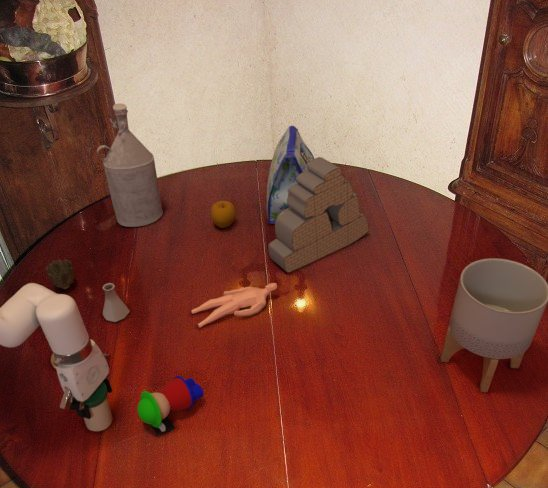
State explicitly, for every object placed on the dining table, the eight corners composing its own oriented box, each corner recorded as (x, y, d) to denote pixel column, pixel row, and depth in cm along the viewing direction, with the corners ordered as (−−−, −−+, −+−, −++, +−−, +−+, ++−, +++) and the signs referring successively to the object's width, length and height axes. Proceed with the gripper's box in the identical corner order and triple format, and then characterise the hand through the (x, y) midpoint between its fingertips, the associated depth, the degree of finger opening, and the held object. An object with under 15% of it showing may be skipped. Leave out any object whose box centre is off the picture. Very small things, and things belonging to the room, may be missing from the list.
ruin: (347, 219, 189) (346, 138, 168) (368, 233, 183) (370, 151, 162) (266, 262, 177) (255, 181, 156) (286, 279, 171) (276, 197, 150)
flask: (115, 326, 154) (106, 299, 148) (98, 315, 158) (89, 288, 151) (134, 311, 159) (127, 284, 152) (117, 301, 162) (110, 274, 155)
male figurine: (187, 300, 156) (268, 270, 162) (190, 312, 160) (270, 283, 166) (198, 324, 149) (283, 292, 155) (202, 337, 152) (285, 305, 158)
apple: (227, 235, 185) (225, 213, 179) (206, 228, 189) (203, 206, 183) (241, 222, 191) (239, 200, 185) (220, 216, 194) (218, 194, 188)
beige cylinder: (83, 432, 128) (74, 404, 121) (86, 410, 132) (77, 382, 125) (111, 430, 129) (103, 402, 121) (113, 408, 133) (106, 380, 126)
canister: (110, 215, 196) (81, 104, 170) (158, 202, 202) (137, 93, 175) (119, 233, 188) (90, 120, 161) (168, 219, 193) (148, 108, 167)
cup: (49, 295, 165) (41, 274, 159) (57, 279, 170) (50, 258, 165) (74, 295, 164) (67, 274, 159) (82, 279, 170) (75, 258, 165)
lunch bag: (315, 226, 188) (317, 155, 171) (265, 226, 189) (262, 155, 171) (314, 192, 205) (316, 123, 187) (269, 191, 205) (266, 124, 188)
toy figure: (186, 394, 139) (131, 419, 130) (184, 363, 134) (127, 387, 126) (206, 413, 133) (150, 441, 125) (206, 382, 128) (147, 409, 120)
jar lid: (106, 407, 122) (104, 402, 121) (72, 410, 121) (70, 405, 120) (109, 381, 127) (108, 376, 126) (76, 383, 126) (75, 378, 125)
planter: (443, 388, 135) (465, 309, 118) (437, 333, 149) (456, 255, 132) (524, 395, 133) (559, 316, 116) (511, 339, 147) (540, 260, 129)
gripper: (59, 384, 107) (85, 438, 119) (112, 324, 119) (131, 379, 130) (29, 373, 109) (57, 428, 121) (84, 316, 121) (105, 371, 133)
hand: (95, 402), depth 126 cm, fingers closed on jar lid, 7 cm apart
